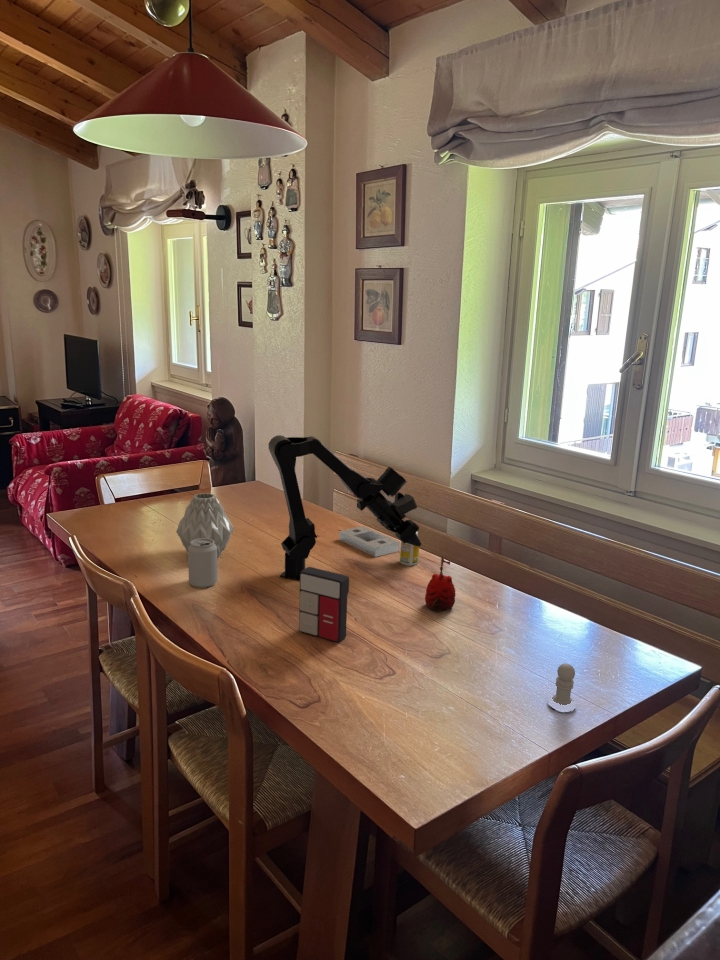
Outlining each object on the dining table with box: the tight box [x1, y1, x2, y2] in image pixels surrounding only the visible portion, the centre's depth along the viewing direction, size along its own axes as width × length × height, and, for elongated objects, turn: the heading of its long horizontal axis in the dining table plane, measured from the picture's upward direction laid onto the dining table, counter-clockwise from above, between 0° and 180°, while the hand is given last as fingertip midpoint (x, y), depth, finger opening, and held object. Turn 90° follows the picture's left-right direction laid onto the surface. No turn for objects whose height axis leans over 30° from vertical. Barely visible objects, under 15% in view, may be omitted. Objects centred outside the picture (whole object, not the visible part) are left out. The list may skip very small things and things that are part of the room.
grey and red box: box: [298, 566, 350, 643], centre depth 162 cm, size 11×4×15 cm, turn 62°
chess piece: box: [552, 662, 576, 705], centre depth 137 cm, size 5×5×9 cm
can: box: [187, 538, 218, 589], centre depth 188 cm, size 8×8×12 cm
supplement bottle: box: [399, 531, 420, 567], centre depth 208 cm, size 5×5×10 cm
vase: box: [175, 492, 235, 559], centre depth 207 cm, size 16×16×18 cm
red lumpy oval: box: [424, 555, 456, 612], centre depth 178 cm, size 8×7×15 cm
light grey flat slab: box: [338, 525, 400, 558], centre depth 222 cm, size 18×10×3 cm, turn 38°
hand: (414, 541), depth 208 cm, fingers open, 7 cm apart
